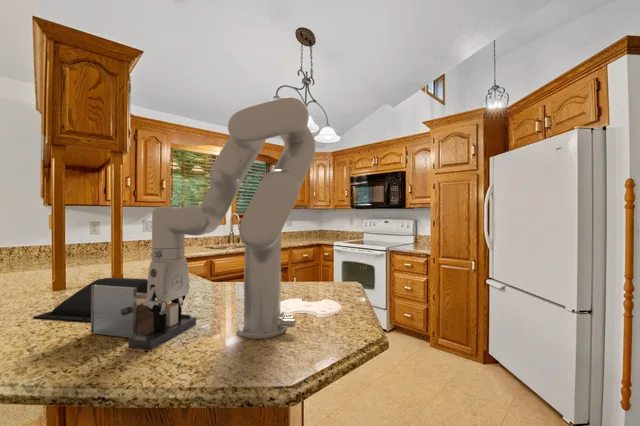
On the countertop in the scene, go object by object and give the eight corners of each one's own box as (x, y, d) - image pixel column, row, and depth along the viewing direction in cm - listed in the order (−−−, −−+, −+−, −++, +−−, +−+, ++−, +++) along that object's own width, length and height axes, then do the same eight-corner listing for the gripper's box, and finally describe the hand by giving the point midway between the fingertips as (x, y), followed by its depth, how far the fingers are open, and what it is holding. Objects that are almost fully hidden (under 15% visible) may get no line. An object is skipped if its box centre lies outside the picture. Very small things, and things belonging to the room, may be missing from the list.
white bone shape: (279, 294, 109) (347, 296, 106) (279, 299, 109) (347, 301, 106) (261, 312, 89) (344, 316, 86) (261, 318, 89) (344, 322, 86)
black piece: (118, 293, 116) (33, 320, 87) (118, 272, 116) (33, 291, 87) (173, 296, 112) (103, 326, 83) (173, 274, 112) (103, 295, 83)
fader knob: (178, 322, 78) (178, 303, 78) (169, 326, 75) (170, 306, 75) (171, 321, 78) (171, 302, 78) (162, 326, 75) (162, 306, 75)
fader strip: (195, 324, 82) (195, 315, 82) (150, 350, 66) (150, 338, 66) (177, 322, 83) (177, 313, 83) (128, 347, 68) (128, 335, 68)
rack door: (136, 336, 73) (137, 287, 73) (128, 340, 71) (129, 289, 71) (94, 331, 76) (94, 284, 76) (85, 334, 74) (85, 286, 74)
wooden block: (167, 323, 83) (167, 294, 83) (137, 337, 73) (137, 305, 73) (129, 319, 86) (129, 291, 86) (95, 332, 76) (96, 301, 76)
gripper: (154, 259, 67) (153, 340, 67) (202, 251, 83) (201, 315, 83) (127, 258, 69) (127, 337, 68) (179, 250, 85) (178, 313, 85)
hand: (167, 324), depth 76 cm, fingers open, 4 cm apart
